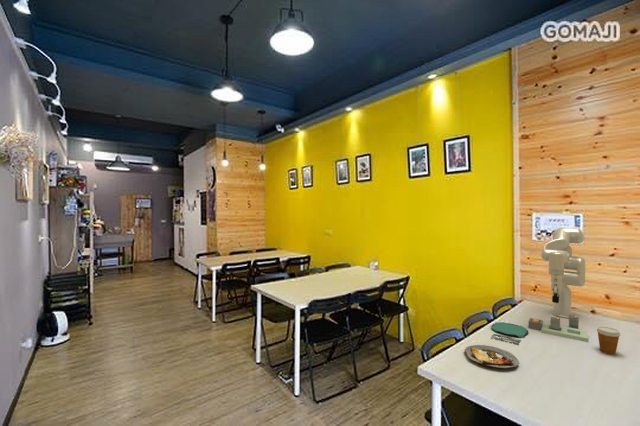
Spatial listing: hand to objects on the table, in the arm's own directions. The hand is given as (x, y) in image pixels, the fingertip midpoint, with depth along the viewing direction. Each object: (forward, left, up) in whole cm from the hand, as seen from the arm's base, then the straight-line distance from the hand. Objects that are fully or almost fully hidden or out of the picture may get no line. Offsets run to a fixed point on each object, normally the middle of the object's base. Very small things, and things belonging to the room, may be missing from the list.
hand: (555, 301), depth 197 cm
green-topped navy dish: (+6, -30, -20) cm, 36 cm away
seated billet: (0, 0, -19) cm, 19 cm away
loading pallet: (+1, +1, -19) cm, 19 cm away
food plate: (+41, -52, -20) cm, 69 cm away
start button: (-5, -9, -17) cm, 20 cm away
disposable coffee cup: (+24, +13, -20) cm, 34 cm away
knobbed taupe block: (-7, +14, -20) cm, 25 cm away
